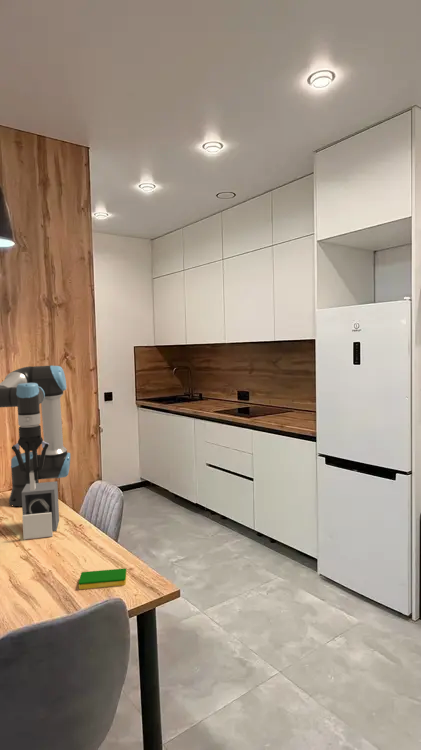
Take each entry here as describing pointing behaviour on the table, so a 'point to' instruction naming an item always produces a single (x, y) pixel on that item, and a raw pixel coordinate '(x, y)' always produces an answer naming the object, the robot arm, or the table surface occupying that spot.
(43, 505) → the watch
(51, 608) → the table surface
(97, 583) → the dish sponge
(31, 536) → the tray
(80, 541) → the table surface
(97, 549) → the table surface
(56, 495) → the cabinet
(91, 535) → the table surface
